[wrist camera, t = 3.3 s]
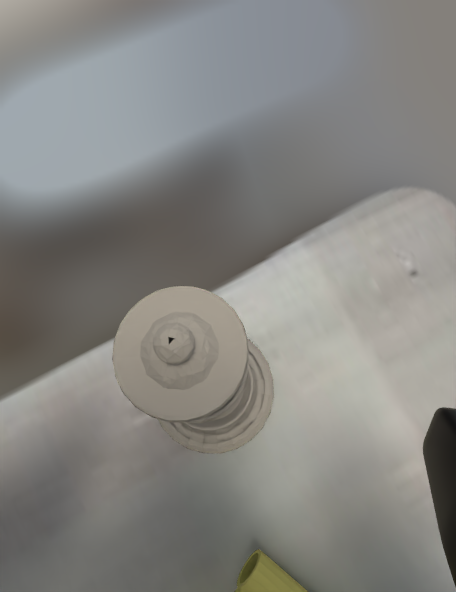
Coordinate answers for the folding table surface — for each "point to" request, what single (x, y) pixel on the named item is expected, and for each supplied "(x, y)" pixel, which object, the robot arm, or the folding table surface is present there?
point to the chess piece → (193, 369)
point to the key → (265, 576)
